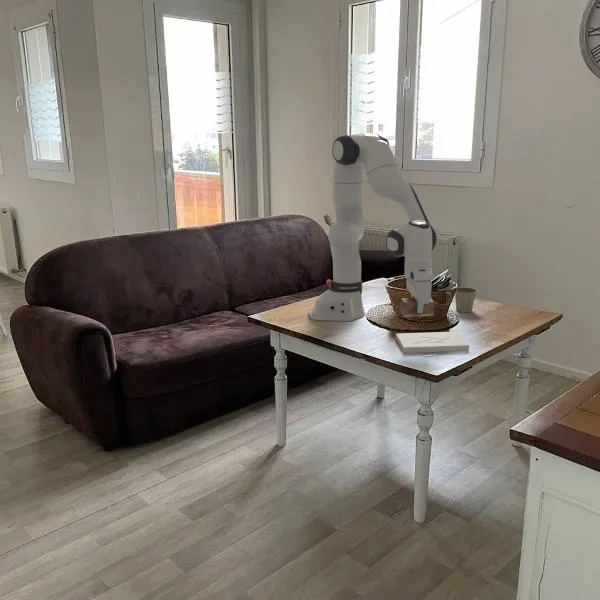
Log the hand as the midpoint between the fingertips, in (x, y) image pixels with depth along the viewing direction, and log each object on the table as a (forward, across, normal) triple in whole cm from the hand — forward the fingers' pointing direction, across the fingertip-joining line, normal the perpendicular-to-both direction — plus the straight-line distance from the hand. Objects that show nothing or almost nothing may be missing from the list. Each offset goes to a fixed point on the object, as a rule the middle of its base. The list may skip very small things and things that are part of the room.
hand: (417, 309), depth 209 cm
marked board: (+13, 0, +5) cm, 14 cm away
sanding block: (+2, 0, 0) cm, 2 cm away
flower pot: (+14, -38, +28) cm, 49 cm away
